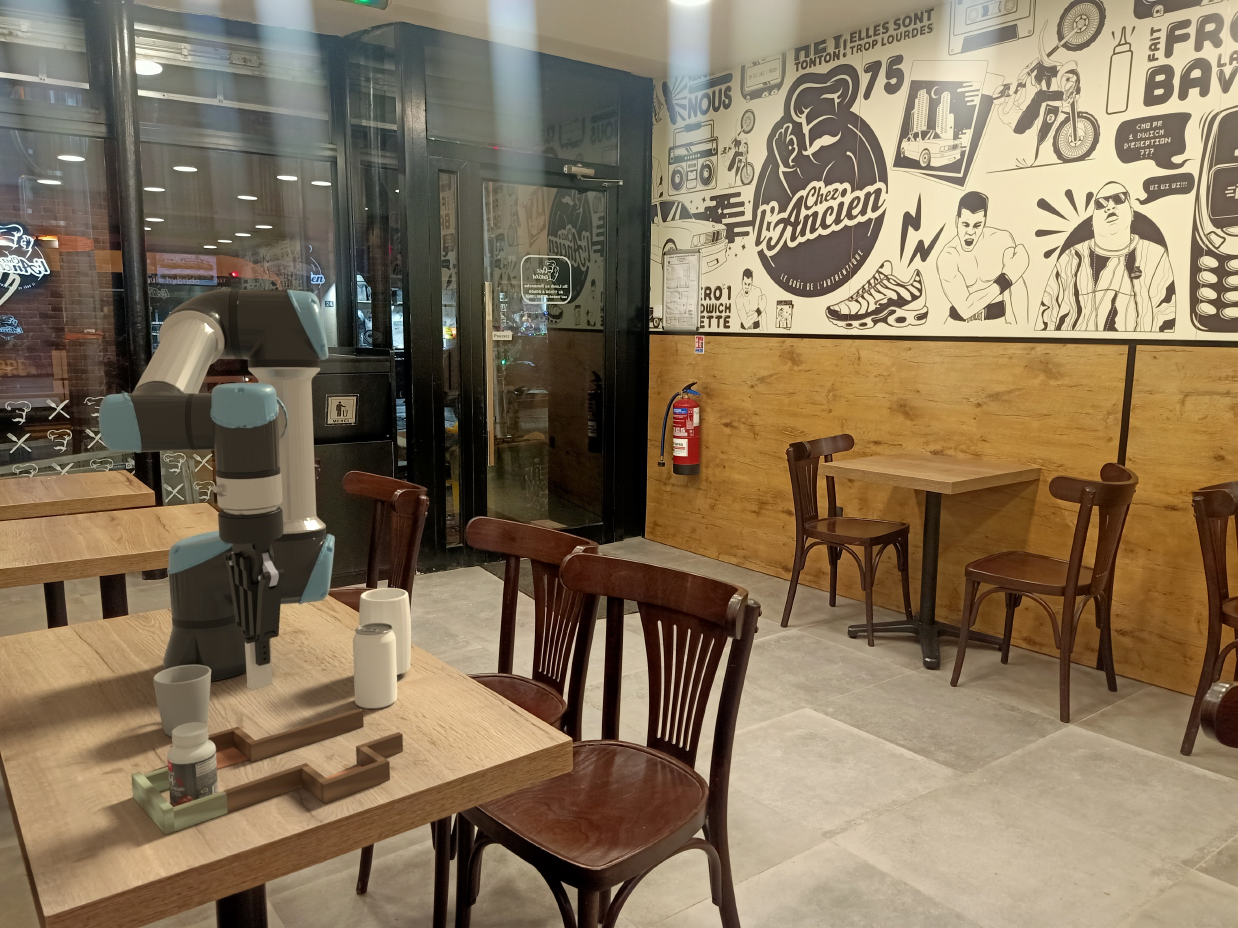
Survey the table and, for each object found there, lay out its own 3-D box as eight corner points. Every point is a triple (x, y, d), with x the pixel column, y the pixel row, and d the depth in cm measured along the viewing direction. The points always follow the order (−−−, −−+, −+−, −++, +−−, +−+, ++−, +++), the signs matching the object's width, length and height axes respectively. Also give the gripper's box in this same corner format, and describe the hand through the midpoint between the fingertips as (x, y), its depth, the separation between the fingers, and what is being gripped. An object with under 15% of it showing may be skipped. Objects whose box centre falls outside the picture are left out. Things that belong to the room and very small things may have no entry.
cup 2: (421, 669, 156) (419, 590, 154) (394, 687, 149) (392, 603, 147) (379, 663, 159) (377, 585, 157) (350, 680, 151) (347, 598, 149)
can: (386, 711, 139) (383, 636, 137) (347, 708, 140) (344, 633, 138) (404, 695, 145) (402, 623, 143) (367, 692, 146) (364, 620, 145)
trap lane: (118, 779, 117) (116, 757, 117) (340, 712, 138) (340, 693, 138) (184, 856, 100) (182, 830, 100) (426, 765, 121) (426, 744, 121)
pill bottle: (160, 810, 110) (154, 733, 108) (195, 789, 115) (190, 716, 113) (194, 818, 108) (189, 741, 106) (228, 797, 113) (224, 723, 111)
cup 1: (158, 745, 127) (154, 687, 126) (154, 719, 136) (150, 664, 134) (217, 733, 131) (214, 677, 130) (209, 709, 139) (206, 656, 138)
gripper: (200, 503, 115) (211, 678, 119) (241, 521, 106) (251, 710, 110) (258, 495, 120) (267, 663, 124) (302, 512, 111) (310, 693, 115)
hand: (260, 685), depth 117 cm, fingers closed
